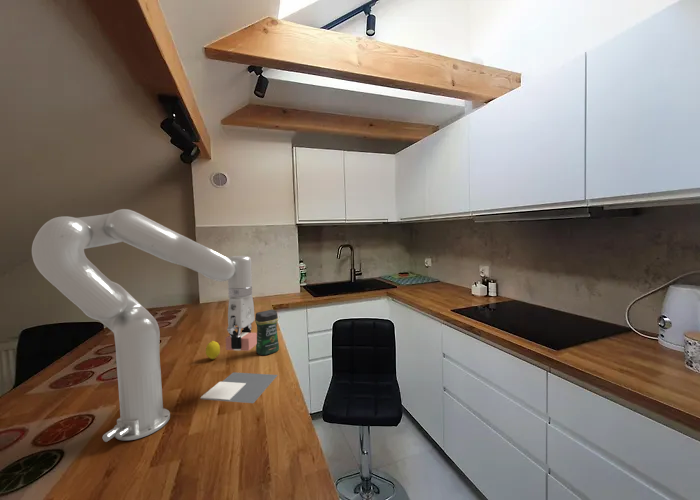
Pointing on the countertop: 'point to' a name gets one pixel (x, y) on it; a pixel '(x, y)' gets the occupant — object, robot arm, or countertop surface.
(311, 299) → the countertop surface
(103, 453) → the countertop surface
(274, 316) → the coffee jar
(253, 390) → the mat
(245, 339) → the card box
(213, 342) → the lemon
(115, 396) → the countertop surface
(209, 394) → the pad
